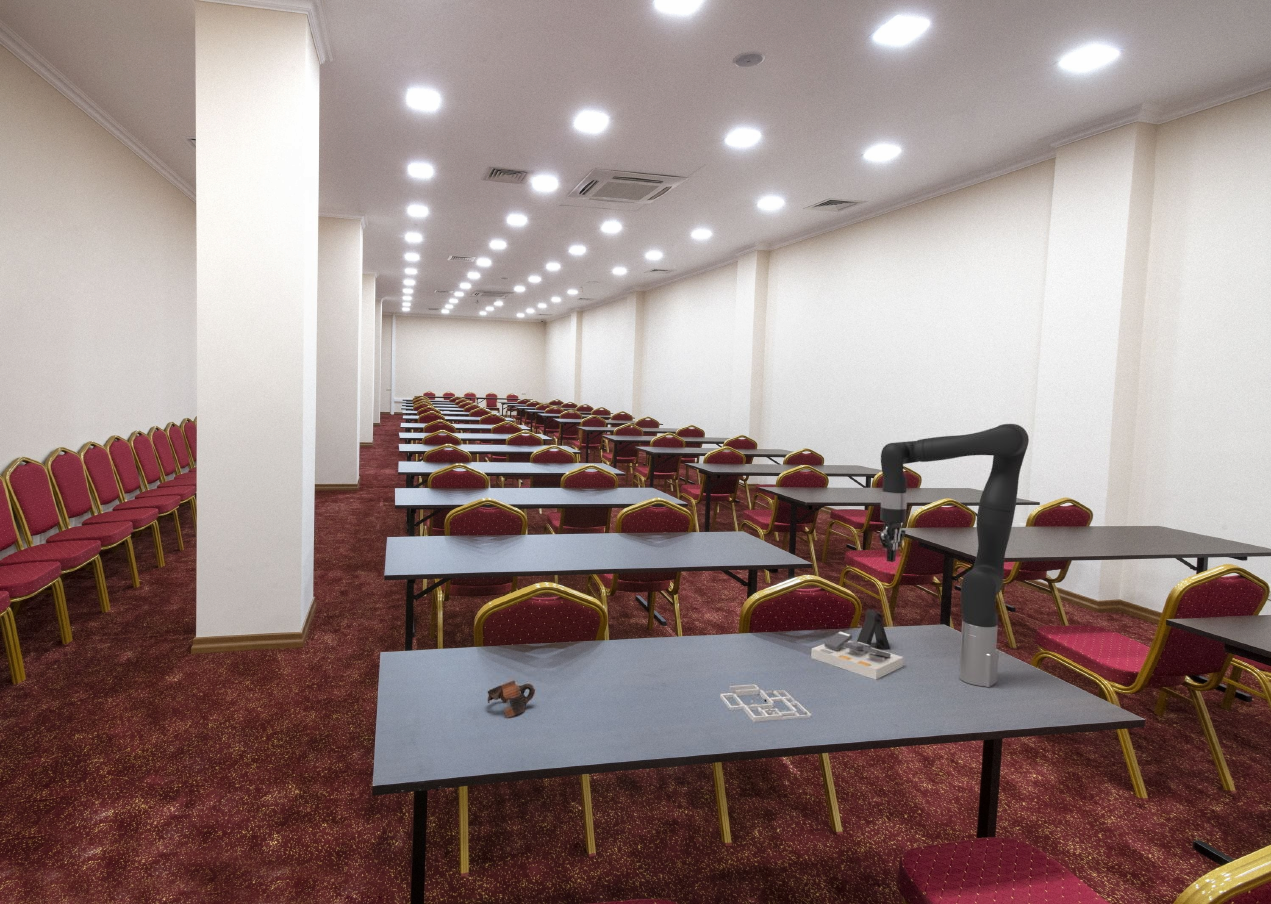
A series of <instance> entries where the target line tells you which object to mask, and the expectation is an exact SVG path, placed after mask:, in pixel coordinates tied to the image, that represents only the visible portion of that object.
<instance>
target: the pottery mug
mask: <svg viewBox="0 0 1271 904" xmlns="http://www.w3.org/2000/svg"><path fill="white" fill-rule="evenodd" d="M526 690H528V695H527V696H526V695H525V692H526ZM535 694H536V689H535V687H534V685H533V684H531V683H523V684H521V685H519V684H516V680H515V679H513V680H510V681H508V682H505V683H503V684H500V685H497V686H495V687H493V688H491V689H489V690H487V695H488V696H487V704H490V702H491V701H493V700H494V701H498V700H501V702H502V703H504V704H505V703H506V702H508V701H509V704H510V706H509V707H507V708H505V709H504V710H503V712H504V714H505V717H506V718H507V719H508V718H511V717H514V716H517V715H520V714H522V713H524V712H526V711H525V709H526V706H527V704H528V703H529V702H530V701H532V699H533V698H534V696H535Z"/></svg>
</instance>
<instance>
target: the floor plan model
mask: <svg viewBox="0 0 1271 904" xmlns="http://www.w3.org/2000/svg"><path fill="white" fill-rule="evenodd" d="M729 692H730V693H729ZM729 692H728V693H720V694H719V695H720V696H719V697H720V699H721V700H722V701H723V703H724V704H725V705H726V707H727V708H728V709H729V710H730V711H737V710H743V711H744V712H745V713H746V715H748V717H749V718H750V720H752V721H753V722H754V723H759V722H767V721H779V720H781V721H785V720H786V721H787V720H797V719H798V720H799V719H809V718H812V713H810V712H809V711H808V710H807V709H806V708H805V707H804V706H802V704H800V703H799V701H796V700H795V698H793V697H792V696H791V695H790V694H789V693H788V692H787V691H786V690H785V689H780V690H779V689H777V690H768V691H767V690H766V691H764V690H762V689H760V688H759V687H758V685H756V684H742V685H732V686H731V685H730V686H729ZM734 692H735V693H734ZM781 693H782V694H785V695H786V696H781V695H780V694H781ZM770 694H771V695H772V694H773V696H775V697H773V696H771V697H769V696H768V695H770ZM753 695H754V696H753ZM755 695H757V696H756V699H758V700H760V697H761V698H762V699H763V700H764V702H765V703H766V704H757V703H753V702H754V701H753V700H755ZM758 695H760V697H759V696H758ZM739 696H740V697H742V696H752V699H753V700H751V701H750V702H751V705H746V704H744V702H743V701H742V700H741V699H740V698H739ZM729 698H733V699H734V700H735V702H737V704H738V705H731V703H730V702H729V701H728V700H727V699H729ZM789 701H792V702H789ZM775 702H783V703H784V704H785V705H786V706H787V707H788V708H789V709H790V711H787V709H782V710H780V711H781V712H780V711H779V709H778V708H774V706H775ZM795 706H796V707H798V709H800V710H801V711H802V713H803V714H799V713H798V710H797V709H796V708H795ZM752 711H758V712H759V713H760V714H761V715H759V716H758V715H757V716H756V715H755V714H754V712H752Z"/></svg>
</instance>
